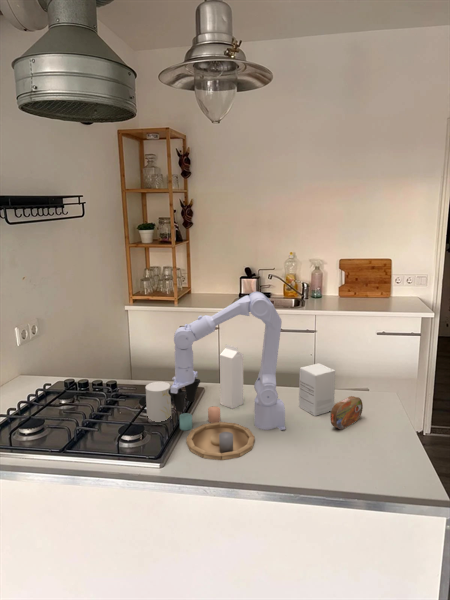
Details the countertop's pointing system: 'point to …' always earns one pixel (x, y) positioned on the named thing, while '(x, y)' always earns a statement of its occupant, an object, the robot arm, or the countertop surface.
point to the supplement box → (316, 389)
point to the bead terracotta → (214, 414)
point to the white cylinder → (158, 401)
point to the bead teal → (185, 421)
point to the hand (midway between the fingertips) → (185, 406)
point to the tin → (346, 412)
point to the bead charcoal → (225, 442)
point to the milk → (231, 377)
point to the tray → (207, 440)
